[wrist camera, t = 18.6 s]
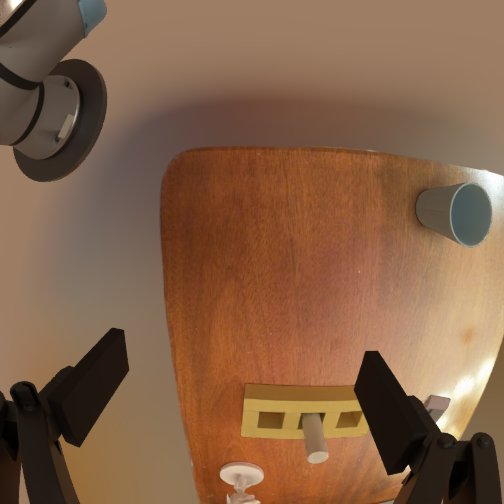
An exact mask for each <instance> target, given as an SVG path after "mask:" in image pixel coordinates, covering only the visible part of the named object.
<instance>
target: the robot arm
mask: <svg viewBox="0 0 504 504" xmlns="http://www.w3.org/2000/svg"><path fill="white" fill-rule="evenodd" d="M106 12H107V8H106V4H105V2H104V0H0V145H9V146H13V147H14V148H16V149H17V150H19V151H20V152H22V153H23V154H25V155H26V156H28V157H29V158H32V159H39V160H47V159H50V158H53V157H55V156H56V155H58V154H59V153H60V152H62V151H63V150H64V149H65V148H66V146H67V145H68V144H69V143H70V141H71V140H72V138H73V137H74V135H75V133H76V131H77V129H78V126H79V124H80V121H81V117H82V112H83V94H82V91H81V88H80V86H79V85H78V84H77V82H75V81H74V80H72V79H70V78H68V77H66V76H63V75H52V76H47V75H48V74H49V73H50V72H51V71H52V70H53V69H54V67H55V66H56V65H57V64H58V63H59V62H60V61H61V60H62V59H63V57H64V56H66V55H67V54H68V52H70V51H71V49H73V47H74V46H75V45H77V44H78V43H79V42H80V41H81V40H82V39H83V38H86V37H87V36H88V33H89V32H90V31H91V30H92V29H93V28H94V27H96V26H97V25H98V24H99V23H100V22H101V21H102V20H103V19H104V17H105V15H106ZM128 371H129V365H128V358H127V351H126V343H125V335H124V330H121V329H117V328H111V329H110V330H109V331H108V332H107V333H106V334H105V335H104V336H103V337H102V338H101V339H100V341H98V343H97V344H96V345H95V346H94V347H93V348H92V349H91V350H90V351H89V352H88V353H87V354H86V355H85V356H84V357H83V358H82V359H81V360H80V361H79V363H78V364H77V365H76V366H75V367H71V366H67V367H65V368H63V369H62V370H60V371H59V372H58V373H57V374H56V375H55V377H53V379H52V380H51V382H49V383H48V384H47V385H46V386H45V387H44V388H43V389H42V390H41V391H40V392H39V393H37V390H36V387H35V385H34V384H32V383H31V382H27V381H22V382H18V383H16V384H14V385H13V386H12V387H11V389H10V394H11V396H12V399H13V401H14V402H13V401H8V400H6V399H5V397H4V395H3V393H2V392H1V391H0V504H19V484H20V471H21V462H22V468H23V474H24V479H25V484H26V489H27V493H28V498H29V501H30V504H80V502H79V500H78V498H77V495H76V492H75V489H74V487H73V484H72V481H71V478H70V475H69V472H68V469H67V465H66V462H65V459H64V455H63V452H62V448H61V444H60V442H59V440H58V438H59V437H60V436H61V434H62V435H63V437H64V439H65V441H66V442H67V443H69V444H72V445H74V446H77V447H80V446H81V445H82V443H83V441H84V440H85V438H86V437H87V435H88V433H89V431H90V430H91V429H92V427H93V425H94V424H95V422H96V421H97V419H98V417H99V416H100V414H101V413H102V411H103V410H104V408H105V406H106V405H107V403H108V402H109V400H110V399H111V397H112V396H113V394H114V393H115V391H116V390H117V388H118V386H119V385H120V383H121V382H122V380H123V379H124V377H125V376H126V374H127V373H128ZM354 393H355V395H356V397H357V400H358V402H359V404H360V407H361V409H362V412H363V414H364V416H365V419H366V421H367V424H368V426H369V429H370V431H371V434H372V436H373V439H374V441H375V444H376V446H377V449H378V451H379V454H380V456H381V459H382V461H383V464H384V467H385V469H386V472H387V474H388V475H393V474H397V473H402V472H403V471H404V470H405V468H406V467H407V466H408V465H409V467H410V469H411V471H410V472H409V474H408V475H407V476H406V478H405V479H404V480H403V481H402V483H401V484H403V486H402V488H401V490H400V492H399V494H398V495H397V497H396V499H395V501H394V503H393V504H441V502H442V499H443V504H502V498H501V487H500V477H499V470H498V463H497V456H496V451H495V445H494V441H493V439H492V438H491V436H489V435H488V434H486V433H482V432H479V433H476V434H474V435H473V437H472V438H471V440H470V441H457V440H456V438H455V437H454V436H453V435H451V434H448V433H442V432H441V431H440V429H439V428H438V426H437V425H436V423H435V421H434V420H433V418H432V417H431V415H429V412H428V411H427V409H425V406H424V405H423V403H422V402H421V401H420V400H419V399H418V398H416V397H415V396H414V395H413V396H407V395H406V393H405V392H404V390H403V388H402V387H401V385H400V384H399V382H398V381H397V379H396V378H395V376H394V375H393V373H392V371H391V370H390V368H389V367H388V365H387V364H386V362H385V361H384V359H383V358H382V356H381V355H380V353H379V352H378V351H365V354H364V358H363V361H362V365H361V368H360V371H359V374H358V377H357V381H356V384H355V387H354Z"/></svg>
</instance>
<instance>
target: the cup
mask: <svg viewBox="0 0 504 504" xmlns="http://www.w3.org/2000/svg"><path fill="white" fill-rule="evenodd" d="M416 215H417V217H418V219H419V221H420V222H421V223H422V224H423V225H424V226H426V227H428V228H430V229H432V230H434V231H436V232H438V233H440V234H442V235H444V236H446V237H447V238H449V239H451V240H453V241H455V242H457V243H459V244H461V245H462V246H465V247H469V248H471V247H476V246H478V245H479V244H481V243H482V242H483V241H484V240H485V238H486V237H487V235H488V233H489V230H490V228H491V223H492V205H491V201H490V198H489V196H488V194H487V192H486V191H485V189H484V188H483V187H482V186H480V185H479V184H477V183H474V182H466V183H461V184H457V185H452V186H446V187H441V188H435V189H430V190H426V191H424V192H423V193H421V194H420V196H419V197H418V199H417V202H416Z"/></svg>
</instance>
